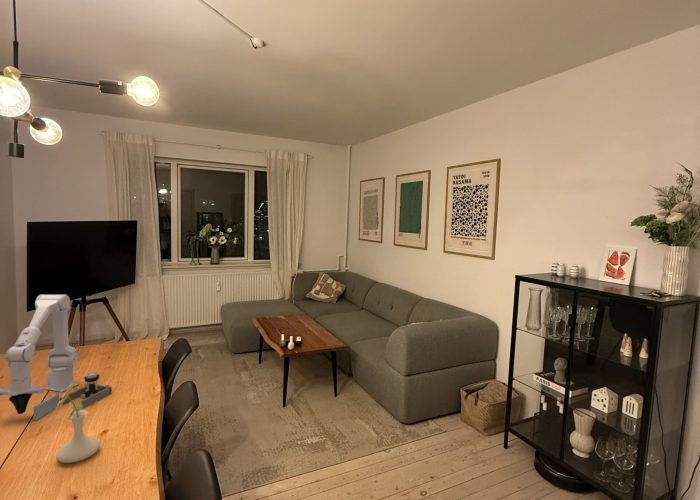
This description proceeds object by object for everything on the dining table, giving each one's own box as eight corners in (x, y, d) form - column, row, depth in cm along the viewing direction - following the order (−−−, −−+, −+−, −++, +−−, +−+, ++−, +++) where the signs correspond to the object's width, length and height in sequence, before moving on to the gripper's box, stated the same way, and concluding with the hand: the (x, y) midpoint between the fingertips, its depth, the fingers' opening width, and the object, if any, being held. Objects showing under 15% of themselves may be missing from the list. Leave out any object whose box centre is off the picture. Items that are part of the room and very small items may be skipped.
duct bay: (59, 405, 148) (59, 397, 148) (91, 390, 162) (91, 383, 162) (81, 409, 146) (81, 401, 145) (111, 393, 159) (111, 386, 159)
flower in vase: (71, 444, 123) (70, 372, 121) (107, 444, 124) (106, 372, 122) (42, 470, 110) (40, 391, 108) (82, 470, 111) (81, 390, 109)
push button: (79, 401, 152) (79, 378, 151) (81, 395, 156) (81, 373, 155) (99, 398, 155) (98, 375, 154) (100, 392, 159) (100, 370, 159)
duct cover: (57, 404, 148) (56, 392, 148) (60, 404, 148) (59, 392, 148) (33, 420, 136) (33, 407, 136) (36, 420, 136) (36, 407, 136)
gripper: (-11, 382, 131) (-9, 419, 132) (35, 381, 133) (36, 417, 134) (4, 374, 138) (5, 409, 139) (47, 373, 140) (48, 407, 141)
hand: (21, 412), depth 137 cm, fingers closed
